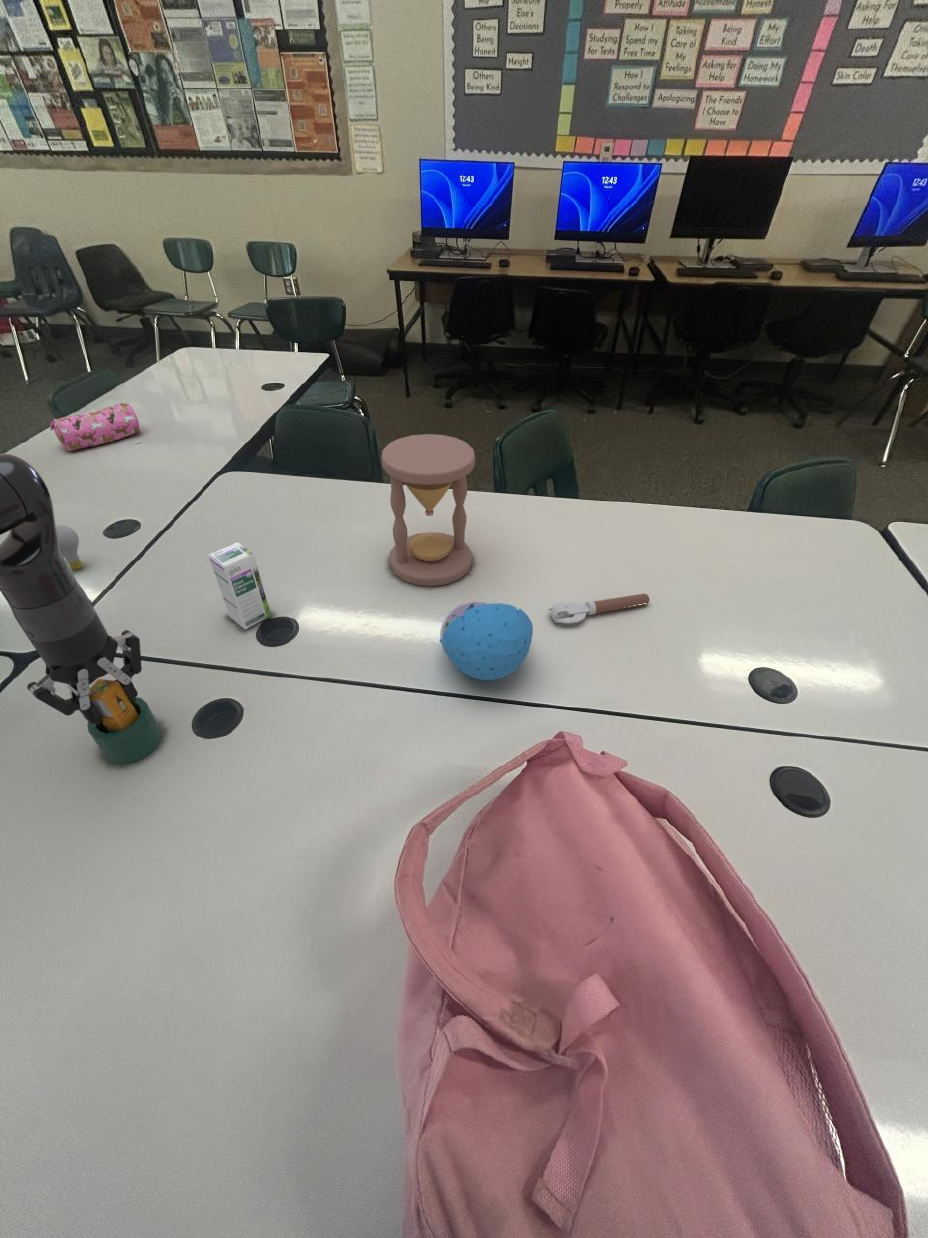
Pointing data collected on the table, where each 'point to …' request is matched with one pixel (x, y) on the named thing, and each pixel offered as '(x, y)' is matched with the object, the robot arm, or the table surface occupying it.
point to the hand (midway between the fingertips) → (114, 709)
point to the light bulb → (69, 545)
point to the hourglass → (429, 506)
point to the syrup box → (240, 584)
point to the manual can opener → (593, 607)
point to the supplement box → (112, 705)
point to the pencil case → (96, 427)
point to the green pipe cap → (129, 737)
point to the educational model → (486, 639)
